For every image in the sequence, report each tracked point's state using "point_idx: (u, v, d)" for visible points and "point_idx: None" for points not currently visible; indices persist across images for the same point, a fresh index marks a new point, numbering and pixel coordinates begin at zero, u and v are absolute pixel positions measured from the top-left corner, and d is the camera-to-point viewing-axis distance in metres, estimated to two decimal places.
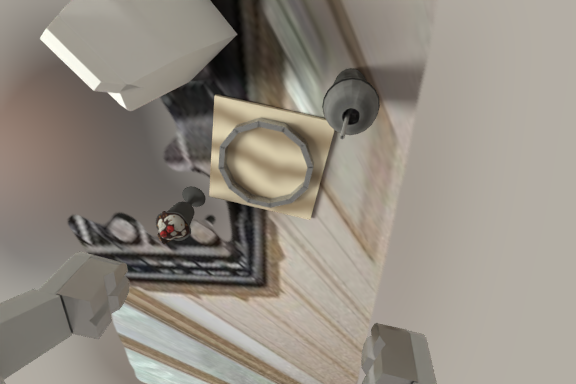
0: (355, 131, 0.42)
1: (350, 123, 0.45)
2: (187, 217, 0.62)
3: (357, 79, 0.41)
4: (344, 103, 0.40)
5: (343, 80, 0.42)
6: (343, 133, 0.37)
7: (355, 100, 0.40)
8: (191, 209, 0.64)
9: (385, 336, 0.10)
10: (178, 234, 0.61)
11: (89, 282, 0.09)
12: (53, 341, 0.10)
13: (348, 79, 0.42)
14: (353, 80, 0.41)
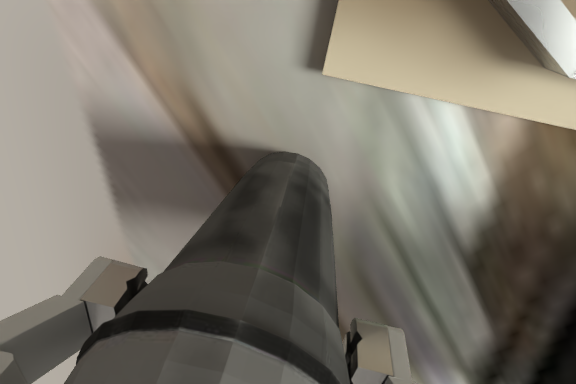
0: None
1: None
2: None
3: None
4: None
5: None
6: None
7: None
8: None
9: (363, 331, 0.10)
10: None
11: (112, 288, 0.09)
12: (75, 347, 0.09)
13: None
14: None
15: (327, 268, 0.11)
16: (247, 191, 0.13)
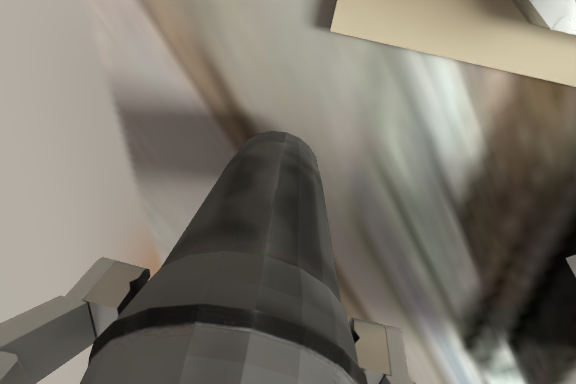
0: None
1: None
2: None
3: None
4: None
5: None
6: None
7: None
8: None
9: (360, 330, 0.10)
10: None
11: (115, 288, 0.09)
12: (79, 348, 0.09)
13: None
14: None
15: (326, 248, 0.11)
16: (240, 175, 0.13)
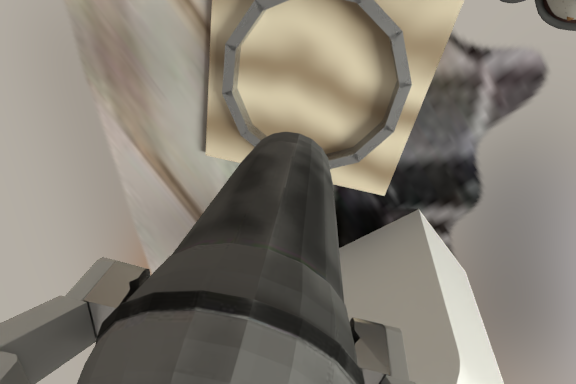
0: None
1: None
2: None
3: None
4: None
5: None
6: None
7: None
8: None
9: (360, 330, 0.10)
10: None
11: (115, 288, 0.09)
12: (78, 347, 0.09)
13: None
14: None
15: (332, 247, 0.11)
16: (251, 172, 0.13)
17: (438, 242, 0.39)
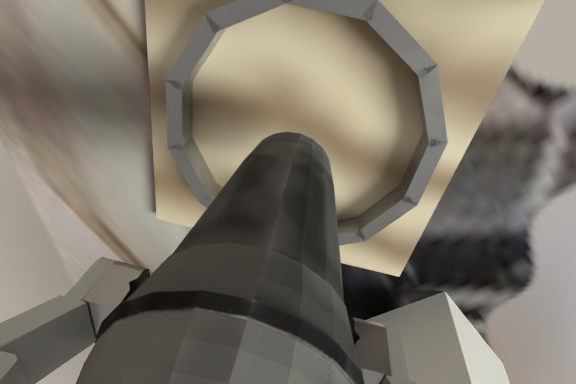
0: None
1: None
2: None
3: None
4: None
5: None
6: None
7: None
8: None
9: (360, 330, 0.10)
10: None
11: (114, 288, 0.09)
12: (78, 348, 0.09)
13: None
14: None
15: (332, 247, 0.11)
16: (252, 172, 0.13)
17: (471, 337, 0.29)
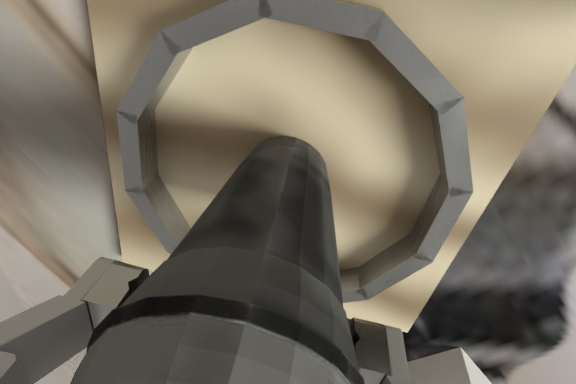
0: None
1: None
2: None
3: None
4: None
5: None
6: None
7: None
8: None
9: (361, 330, 0.10)
10: None
11: (114, 288, 0.09)
12: (77, 347, 0.09)
13: None
14: None
15: (330, 251, 0.11)
16: (248, 176, 0.13)
17: None
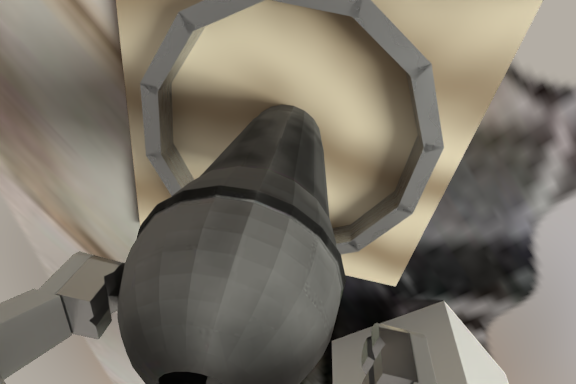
0: (162, 312, 0.08)
1: None
2: None
3: None
4: None
5: None
6: None
7: None
8: None
9: (385, 336, 0.10)
10: None
11: (89, 282, 0.09)
12: (53, 341, 0.10)
13: None
14: None
15: (320, 183, 0.14)
16: (253, 130, 0.16)
17: (472, 348, 0.28)
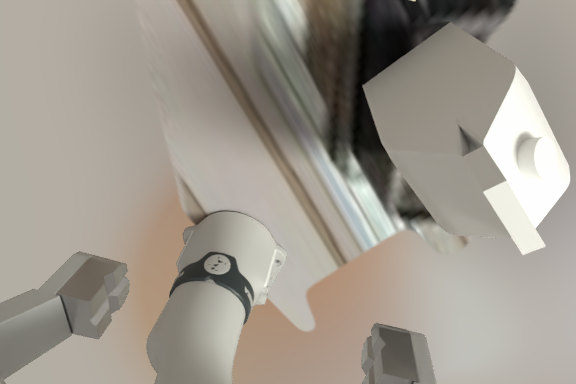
0: None
1: None
2: None
3: None
4: None
5: None
6: None
7: None
8: None
9: (385, 336, 0.10)
10: None
11: (89, 282, 0.09)
12: (53, 341, 0.10)
13: None
14: None
15: None
16: None
17: None
